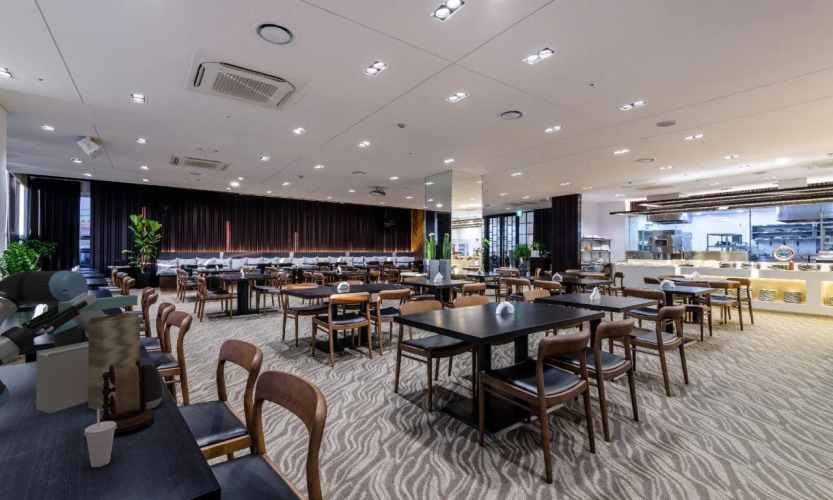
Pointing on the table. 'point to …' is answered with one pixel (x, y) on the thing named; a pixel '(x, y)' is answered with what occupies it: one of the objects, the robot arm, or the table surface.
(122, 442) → the table surface
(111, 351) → the brown tall block
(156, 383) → the pump dispenser
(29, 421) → the table surface
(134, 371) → the scroll
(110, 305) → the teal block
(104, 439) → the smoothie
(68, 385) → the block
